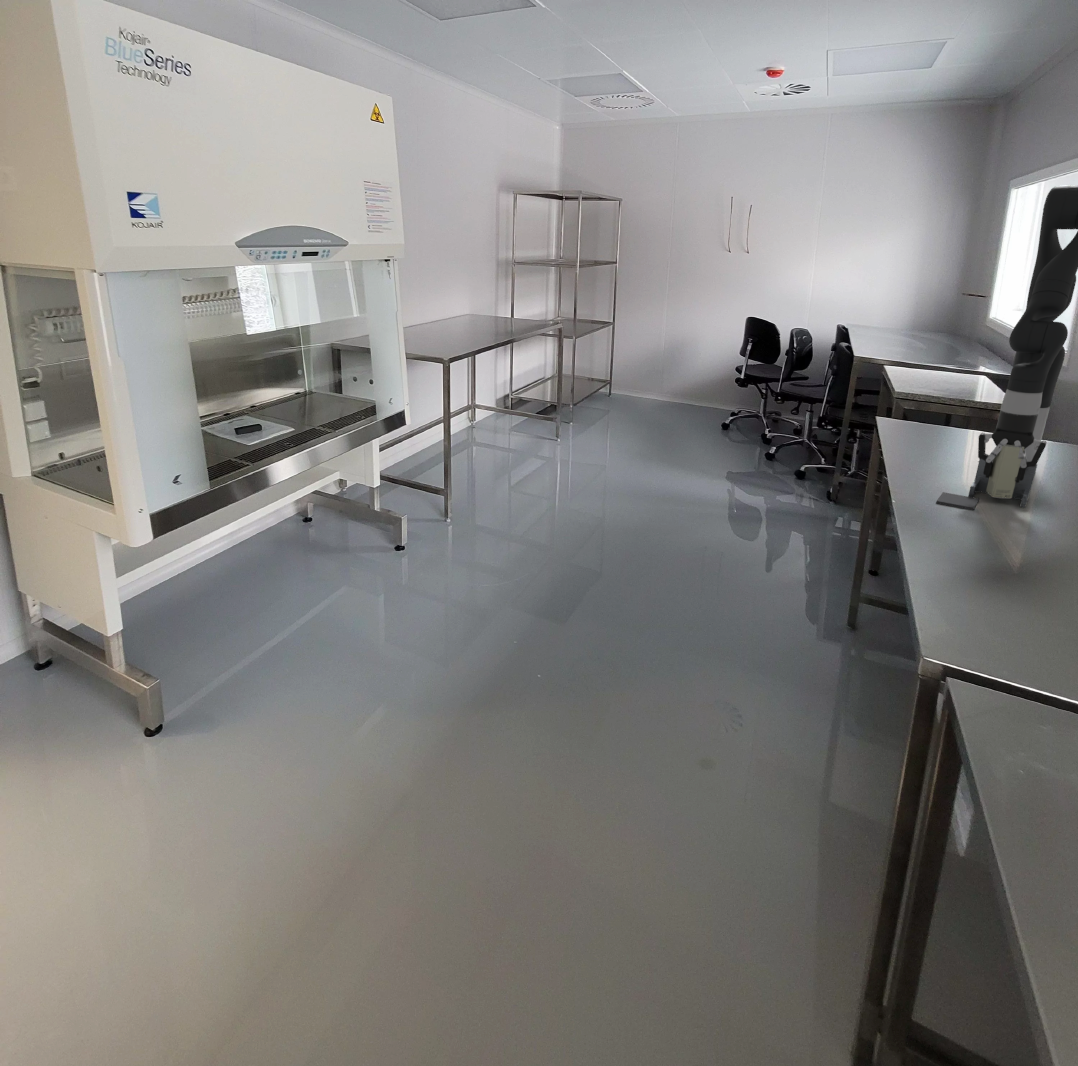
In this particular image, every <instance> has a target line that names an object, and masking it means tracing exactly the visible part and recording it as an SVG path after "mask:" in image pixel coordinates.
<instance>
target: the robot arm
mask: <svg viewBox="0 0 1078 1066" xmlns="http://www.w3.org/2000/svg"><path fill="white" fill-rule="evenodd" d="M1041 216H1042V217H1041V223H1040V232H1039V239H1038V246H1037V253H1036V259H1035V263H1034V268H1033V271H1032V276H1031V280H1030V285H1029V289H1028V294H1027V301H1026V306H1025V307H1026V308H1025V311H1024V312H1023V314H1022V315H1021V318H1019V320H1018V321H1017V323H1016V325H1015V326H1014V327H1013V329H1012V330H1011V332H1010V335H1009V340H1008V343H1009V346H1010V348H1011V350H1013V352H1015V355H1014V359H1013V364H1012V369H1011V371H1010V375H1009V379H1008V383H1007V387H1006V390H1005V394H1004V396H1003V399H1002V403H1001V405H1000V410H999V411H1000V412H999V415H998V418H997V422H996V423H997V424H996V427H995V430H994V431H993V433H985V432H981V433H980V434H979V435H978V448H977V450H978V451H977V458H978V459H979V460H980V459H983V460H984V461H985V462H986V464H985V468H984V472H983V474H984V475H986V478H989V477H990V473H991V469H992V465H993V459H994V458H995V456H996V455H997V454H998V453H999V452H1000V451H1001V449H1002V446H1003V445H1006V444H1009V445H1015V447H1020V451H1019V455H1018V458H1019V459H1021V463H1020V467H1019V471H1018V475H1017V479H1016V482H1017V483H1019V481H1022V480H1023V478H1024V475H1025V471H1026V468H1027V467H1035V466H1036V464H1037V465H1038V462H1039V461H1040V458H1041V456H1042V454H1043V452H1044V450H1045V448H1046V447H1047V444H1048V443H1047V441H1046V440H1042V438H1043V434H1044V432H1045V427H1046V422H1047V420H1048V416H1049V412H1050V408H1051V404H1052V400H1053V397H1054V396H1053V395H1054V393H1055V389H1056V385H1057V382H1058V379H1059V377H1060V373H1061V371H1062V368H1063V367H1062V366H1063V364H1064V360H1065V357H1066V350H1065V347H1064V345H1065V343H1066V341H1067V339H1068V335H1069V331H1068V327H1067V325H1066V324H1065V323H1063V322H1061V321H1055V320H1056V319H1058V318H1059V317H1061V316H1062V314H1063V313H1064V312H1065V311H1066V310H1067V309H1068V307H1070V305H1071V303H1072V300H1073V296H1074V293H1075V292H1074V291H1075V287H1076V284H1077V271H1078V184H1070V185H1069V184H1066V185H1057V186H1054V187H1052V188H1051V189H1050V190H1049V192H1048V193H1047V195H1046V197H1045V201H1044V205H1043V209H1042V215H1041ZM1058 230H1076V231H1077V232H1076V234H1075V235H1074V237H1073V238H1072V239H1071V241H1069V243H1068V244H1067V245H1066V246H1065V247H1064V248H1062V246H1061V243H1060V239H1059V235H1058V234H1059V233H1058ZM990 439H991V440H993V442H994V445H995V447H994V449H993V450H992V451H991V452H990V453H989V454H988V453H986V449H987V447H986V445H987V443H988V442H989V441H990ZM1022 447H1024V451H1023V449H1022ZM997 450H998V451H997ZM1020 453H1021V454H1020Z"/></svg>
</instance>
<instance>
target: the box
mask: <svg viewBox="0 0 1078 1066" xmlns="http://www.w3.org/2000/svg"><path fill="white" fill-rule="evenodd" d="M1022 449H1023V451H1024V447H1022ZM997 451H998V450H997ZM1019 451H1020V447H1015V445H1009V444H1006V445H1003V446H1002V449H1001V451H1000V452H999V453H998V454H997V455H996V456H995V458H994V460H993V465H992V469H991V473H990V477H989V481H988V485H987V490H986V492H987V493H988V495H989V496H990V497H992V498H996V499H1013V498H1012V494H1013V490H1014V487H1015V482H1016V479H1017V475H1018V471H1019V467H1020V463H1021V459H1019V458H1018V455H1019ZM1020 454H1021V453H1020ZM987 493H986V494H987Z"/></svg>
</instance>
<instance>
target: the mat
mask: <svg viewBox="0 0 1078 1066" xmlns="http://www.w3.org/2000/svg"><path fill="white" fill-rule="evenodd" d="M979 501H980V498H979V497H968V496H967V495H961V494H957V493H956V494H955V493H949V492H944V491H943V492H942V493H941V494H940V495H939V497H938V499H937V500H936V501H935V503H936V504H937V505H938V504H939V505H943V506H950V507H954V508H960V509H965V510H972V511H974V510H975V509H976V507H977V505H978V503H979Z"/></svg>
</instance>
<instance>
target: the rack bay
mask: <svg viewBox="0 0 1078 1066" xmlns="http://www.w3.org/2000/svg"><path fill="white" fill-rule="evenodd" d="M993 460H994V459H993ZM985 464H986V462H985V461H984V460H983V459H979V461H978V464H977V468H976V473H975V478H974V480H973V482H972V484H971V485H970V488H969V491H968V496H967V497H973V498H975V495H976V494H977V493H983V494H988V493H987V492H986V490H987V485H988V481H989V478H986V475H984V474H983V472H984V468H985ZM1037 468H1038V463H1037V464H1036V466H1035V467H1027V468H1026V471H1025V475H1024V478H1023V480H1022V481H1019V483H1017V482H1015V487H1014V490H1013V494H1012V498H1011V499H1016V500H1021V502H1020V506H1019V508H1023V509H1024V508H1026V505H1027V503H1028V500H1029V496H1030V494H1031V489H1032V487H1033V486H1032V485H1033V482H1034V479H1035V475H1036V473H1037V472H1036V471H1037ZM988 495H989V494H988Z"/></svg>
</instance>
